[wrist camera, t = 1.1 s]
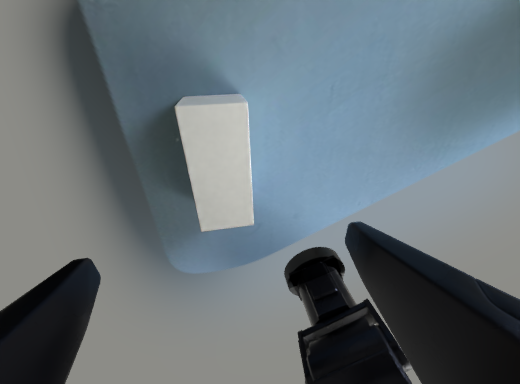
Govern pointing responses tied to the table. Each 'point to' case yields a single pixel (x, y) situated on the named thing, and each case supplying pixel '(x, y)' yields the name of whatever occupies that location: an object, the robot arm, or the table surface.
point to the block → (218, 158)
